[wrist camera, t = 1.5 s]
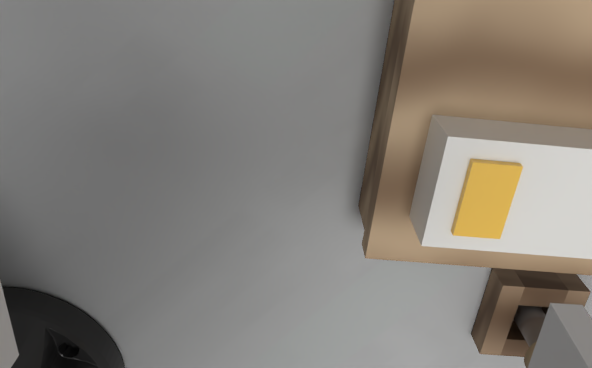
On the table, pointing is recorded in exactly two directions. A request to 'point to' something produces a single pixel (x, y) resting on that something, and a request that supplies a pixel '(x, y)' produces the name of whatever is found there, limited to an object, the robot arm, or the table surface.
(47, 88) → the table surface
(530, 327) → the awl
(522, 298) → the wooden pallet
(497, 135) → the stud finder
